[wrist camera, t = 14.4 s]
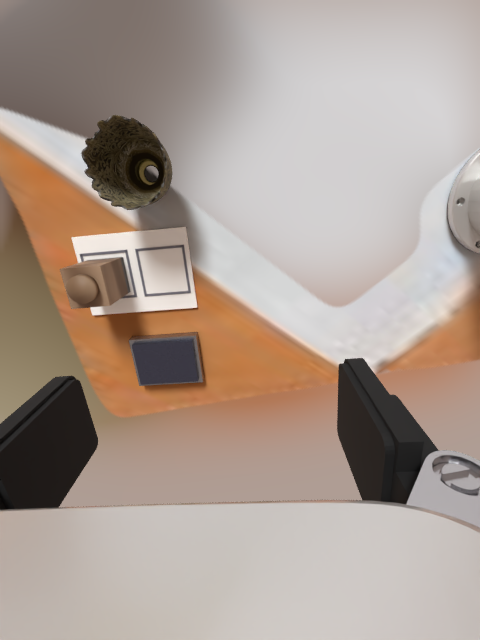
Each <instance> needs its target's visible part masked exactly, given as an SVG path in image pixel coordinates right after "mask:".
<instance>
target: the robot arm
mask: <svg viewBox="0 0 480 640" xmlns="http://www.w3.org/2000/svg"><path fill="white" fill-rule="evenodd" d="M457 201H458V202H457ZM456 202H457V203H456ZM448 220H449V224H450V228H451V230H452V232H453V234H454V236H455V237H456V239H457V240H458V241H459V242H460V243H461V244H462V245H463V246H465V247H466V248H467V249H469V250H471V251H473V252H476V253H480V150H478V151H477V152H476V153H475V154H474V155H473V156H472V157H471V158H470V159H469V160H468V161H467V163H466V164H465V165H464V167H463V168H462V169H461V171H460V172H459V174H458V176H457V178H456V180H455V181H454V184H453V187H452V189H451V192H450V196H449V201H448ZM337 429H338V436H339V439H340V442H341V444H342V447H343V450H344V452H345V455H346V458H347V460H348V463H349V466H350V468H351V471H352V474H353V476H354V479H355V482H356V484H357V487H358V490H359V492H360V495H361V497H362V501H361V500H359V501H358V500H302V501H262V502H261V501H259V502H218V503H181V504H150V505H149V504H148V505H118V506H88V507H87V506H86V507H62V508H61V507H60V508H58V507H59V506H60V504H61V503H62V501H63V500H64V498H65V496H66V495H67V493H68V492H69V490H70V489H71V487H72V486H73V484H74V483H75V481H76V479H77V478H78V476H79V475H80V473H81V472H82V470H83V469H84V467H85V466H86V464H87V462H88V461H89V459H90V458H91V456H92V455H93V453H94V452H95V450H96V448H97V445H98V437H97V434H96V431H95V428H94V425H93V421H92V418H91V415H90V412H89V409H88V405H87V402H86V399H85V396H84V392H83V389H82V386H81V383H80V381H79V380H76V379H75V377H73V376H63V377H55V378H53V379H52V380H51V381H50V382H49V383H47V384H46V385H45V386H44V387H43V388H42V389H40V390H39V391H38V392H37V393H36V394H35V395H33V396H32V397H31V398H30V399H29V400H28V401H26V402H25V403H24V404H23V405H22V406H21V407H19V408H18V409H17V410H16V411H15V412H14V413H13V414H11V415H10V416H9V417H8V418H7V419H5V420H4V421H3V422H2V423H1V424H0V640H480V461H479V460H477V459H475V458H473V457H471V456H469V455H466V454H463V453H459V452H456V451H447V450H442V451H439V450H438V449H437V448H436V446H435V445H434V444H433V442H432V441H431V440H430V438H429V437H428V436H427V435H426V433H425V432H424V431H423V429H422V428H421V427H420V425H419V424H418V423H417V422H416V420H415V419H414V418H413V416H412V415H411V414H410V412H409V411H408V410H407V409H406V407H405V406H404V405H403V404H402V402H401V401H400V399H399V398H398V397H397V396H396V395H390V394H389V393H388V392H387V391H386V389H385V388H384V386H383V385H382V384H381V382H380V381H379V379H378V378H377V377H376V375H375V374H374V373H373V371H372V370H371V369H370V367H369V366H368V364H367V363H366V362H365V360H364V359H363V358H357V359H345V361H344V363H343V364H339V379H338V421H337Z"/></svg>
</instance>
